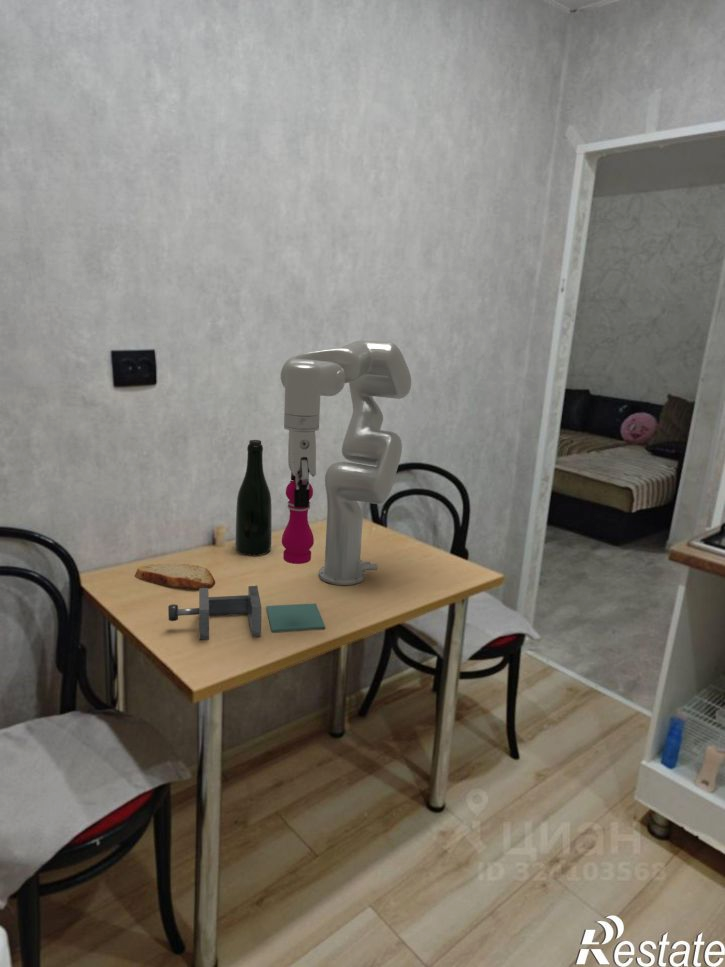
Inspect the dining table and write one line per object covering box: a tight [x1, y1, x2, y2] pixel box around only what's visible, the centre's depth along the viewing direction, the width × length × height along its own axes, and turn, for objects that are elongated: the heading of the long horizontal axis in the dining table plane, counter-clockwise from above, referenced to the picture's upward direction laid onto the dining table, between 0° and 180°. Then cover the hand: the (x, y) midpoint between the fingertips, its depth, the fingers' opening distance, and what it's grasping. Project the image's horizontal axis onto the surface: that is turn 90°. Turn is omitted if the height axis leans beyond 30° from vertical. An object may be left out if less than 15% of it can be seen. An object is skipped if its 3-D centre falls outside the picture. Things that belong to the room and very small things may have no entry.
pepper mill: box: [281, 474, 315, 565], centre depth 143 cm, size 7×7×20 cm
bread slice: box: [134, 563, 216, 591], centre depth 166 cm, size 18×18×4 cm
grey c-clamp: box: [167, 585, 262, 641], centre depth 143 cm, size 20×13×7 cm, turn 104°
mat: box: [265, 603, 326, 633], centre depth 149 cm, size 12×12×1 cm
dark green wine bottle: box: [234, 439, 273, 556], centre depth 186 cm, size 10×10×33 cm
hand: (299, 501), depth 142 cm, fingers closed on pepper mill, 6 cm apart
